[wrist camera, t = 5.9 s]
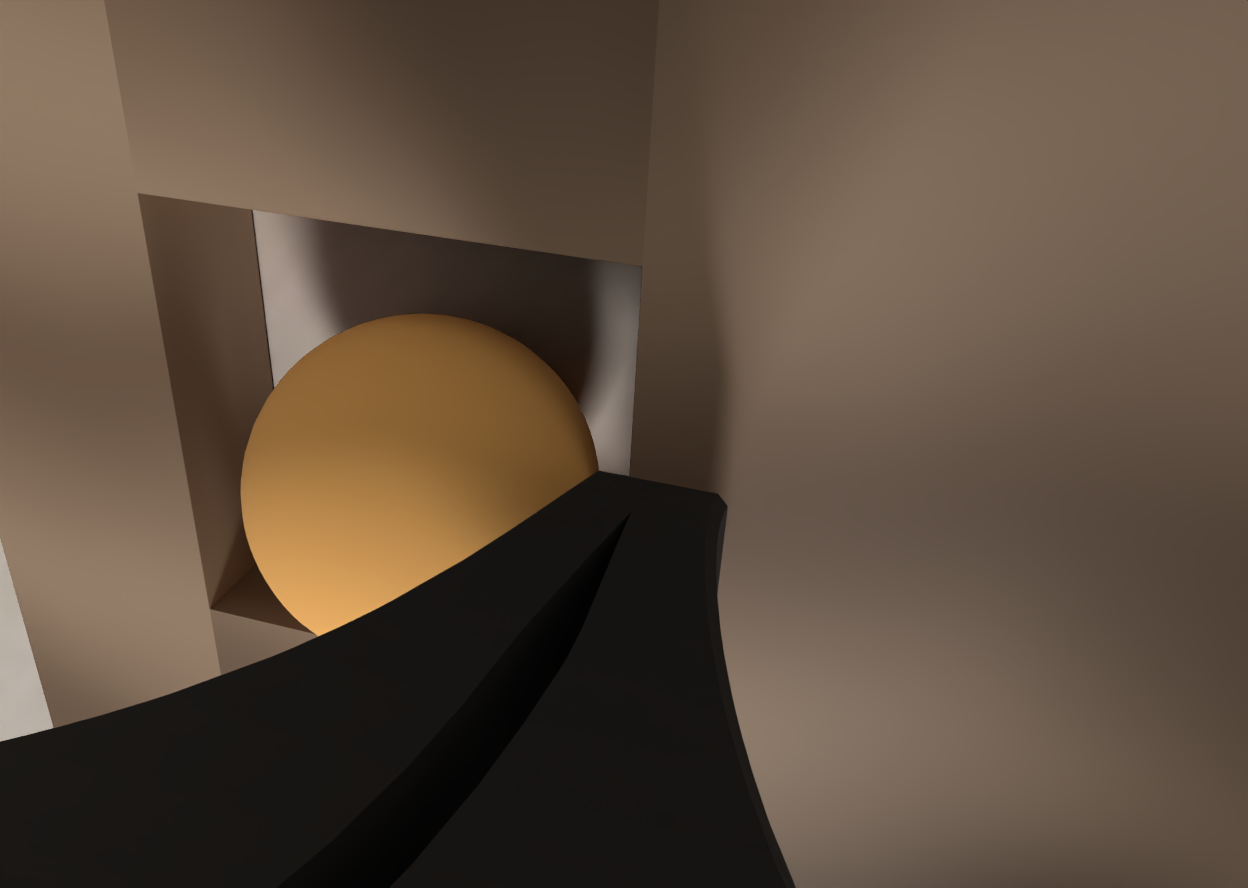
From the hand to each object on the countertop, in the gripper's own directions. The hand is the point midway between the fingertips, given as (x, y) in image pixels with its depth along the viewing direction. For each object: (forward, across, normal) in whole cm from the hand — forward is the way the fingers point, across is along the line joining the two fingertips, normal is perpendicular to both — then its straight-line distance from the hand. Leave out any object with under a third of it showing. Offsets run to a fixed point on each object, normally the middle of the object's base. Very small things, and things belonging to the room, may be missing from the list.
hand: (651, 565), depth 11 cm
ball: (+1, +3, 0) cm, 3 cm away
